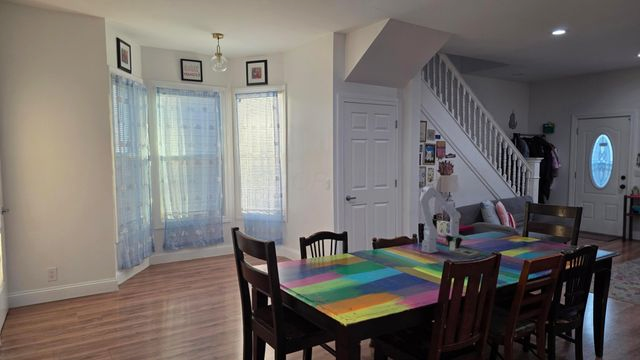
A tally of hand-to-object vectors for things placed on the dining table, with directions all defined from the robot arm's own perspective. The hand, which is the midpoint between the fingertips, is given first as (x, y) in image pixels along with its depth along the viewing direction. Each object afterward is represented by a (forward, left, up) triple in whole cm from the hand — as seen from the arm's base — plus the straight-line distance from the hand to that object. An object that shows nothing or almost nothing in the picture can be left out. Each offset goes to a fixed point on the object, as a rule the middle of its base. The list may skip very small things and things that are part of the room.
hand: (453, 247), depth 283 cm
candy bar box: (+11, +16, -2) cm, 20 cm away
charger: (0, 0, -2) cm, 2 cm away
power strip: (-5, -12, -2) cm, 13 cm away
